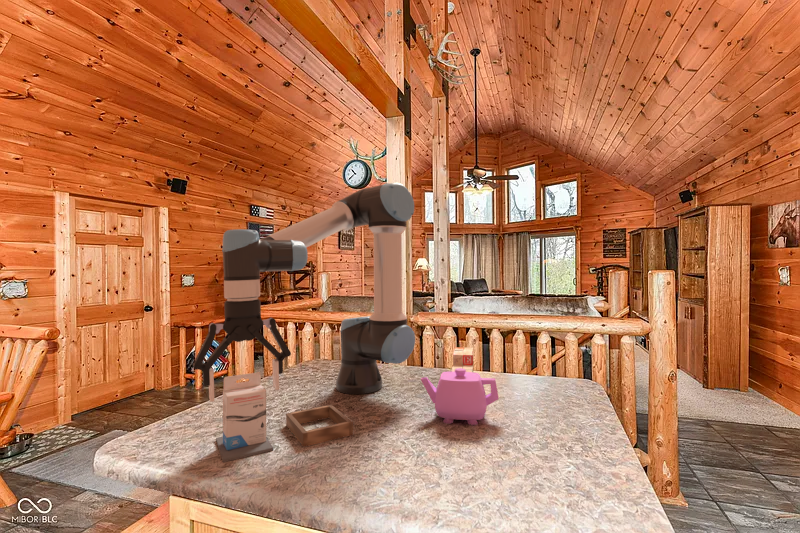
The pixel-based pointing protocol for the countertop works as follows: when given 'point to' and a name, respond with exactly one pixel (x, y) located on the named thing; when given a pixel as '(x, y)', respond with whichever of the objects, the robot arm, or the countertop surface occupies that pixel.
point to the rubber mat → (242, 450)
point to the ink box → (244, 411)
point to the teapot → (461, 395)
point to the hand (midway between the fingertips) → (245, 393)
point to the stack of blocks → (463, 359)
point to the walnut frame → (324, 433)
